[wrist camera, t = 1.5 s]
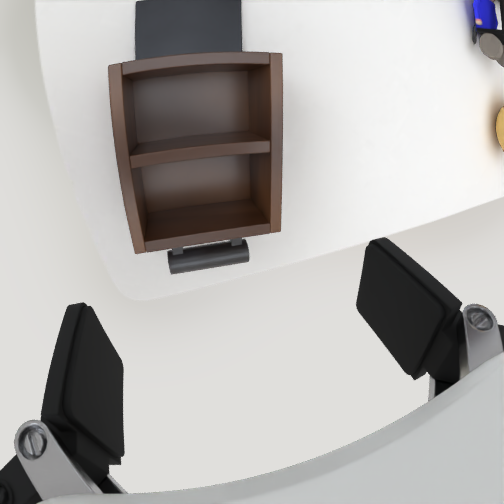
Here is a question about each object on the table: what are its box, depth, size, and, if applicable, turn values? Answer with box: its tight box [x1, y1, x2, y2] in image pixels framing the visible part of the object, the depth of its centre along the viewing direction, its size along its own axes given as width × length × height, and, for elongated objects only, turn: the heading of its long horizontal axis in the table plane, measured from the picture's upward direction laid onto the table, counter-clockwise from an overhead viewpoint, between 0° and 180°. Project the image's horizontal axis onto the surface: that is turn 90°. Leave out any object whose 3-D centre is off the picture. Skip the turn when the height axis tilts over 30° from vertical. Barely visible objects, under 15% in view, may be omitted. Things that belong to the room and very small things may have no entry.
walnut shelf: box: [108, 52, 283, 274], centre depth 19 cm, size 15×10×6 cm, turn 1°
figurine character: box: [473, 0, 504, 67], centre depth 16 cm, size 7×8×15 cm
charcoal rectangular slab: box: [135, 0, 242, 60], centre depth 16 cm, size 6×8×1 cm
